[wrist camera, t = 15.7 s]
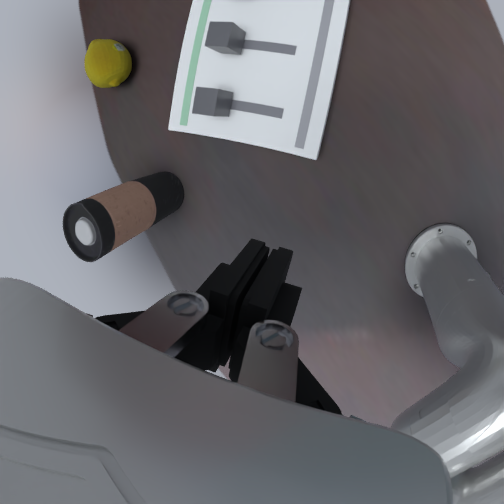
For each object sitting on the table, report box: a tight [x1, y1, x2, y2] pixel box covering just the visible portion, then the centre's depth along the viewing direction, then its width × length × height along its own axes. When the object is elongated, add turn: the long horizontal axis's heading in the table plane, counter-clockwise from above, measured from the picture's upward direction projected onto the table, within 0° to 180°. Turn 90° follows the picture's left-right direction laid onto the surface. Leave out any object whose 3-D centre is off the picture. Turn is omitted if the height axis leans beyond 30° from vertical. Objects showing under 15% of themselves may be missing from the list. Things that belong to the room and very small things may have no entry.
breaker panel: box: [168, 0, 350, 160], centre depth 34 cm, size 22×28×3 cm
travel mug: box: [63, 172, 184, 262], centre depth 40 cm, size 8×8×20 cm
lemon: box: [85, 39, 132, 88], centre depth 37 cm, size 11×8×8 cm
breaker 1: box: [205, 21, 246, 55], centre depth 30 cm, size 3×4×5 cm
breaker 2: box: [192, 87, 233, 117], centre depth 34 cm, size 3×4×5 cm
